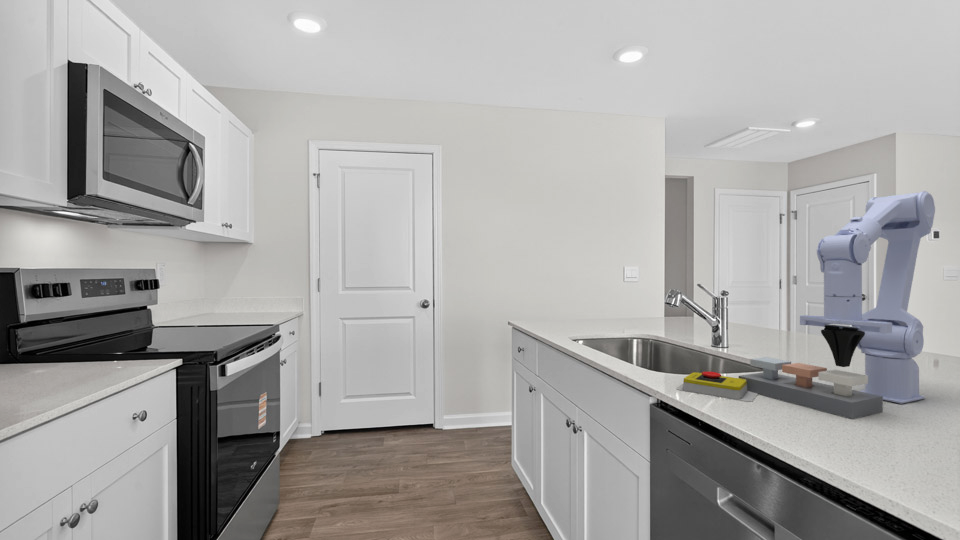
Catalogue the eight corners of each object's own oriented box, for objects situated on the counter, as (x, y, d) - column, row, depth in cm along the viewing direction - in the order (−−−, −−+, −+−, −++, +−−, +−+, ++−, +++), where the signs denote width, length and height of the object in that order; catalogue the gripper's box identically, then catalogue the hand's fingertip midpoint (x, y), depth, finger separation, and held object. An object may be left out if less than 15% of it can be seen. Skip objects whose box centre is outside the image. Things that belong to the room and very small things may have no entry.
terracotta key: (798, 383, 95) (798, 362, 95) (826, 389, 90) (826, 368, 90) (782, 385, 93) (782, 365, 93) (810, 392, 88) (810, 370, 88)
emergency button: (686, 365, 106) (759, 375, 96) (686, 383, 106) (759, 395, 96) (675, 372, 99) (751, 383, 89) (675, 391, 99) (751, 405, 89)
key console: (767, 384, 103) (767, 371, 103) (882, 412, 83) (882, 396, 83) (738, 388, 99) (738, 375, 99) (851, 419, 79) (851, 402, 79)
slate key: (766, 375, 101) (766, 357, 101) (791, 381, 96) (791, 361, 96) (750, 378, 99) (750, 358, 99) (775, 384, 94) (774, 363, 94)
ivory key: (835, 391, 88) (835, 369, 88) (867, 398, 83) (867, 375, 83) (818, 394, 86) (818, 372, 86) (851, 401, 81) (851, 378, 81)
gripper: (790, 294, 90) (790, 360, 90) (876, 299, 77) (876, 376, 77) (811, 294, 93) (811, 357, 93) (898, 298, 79) (898, 372, 79)
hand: (842, 366), depth 85 cm, fingers closed
